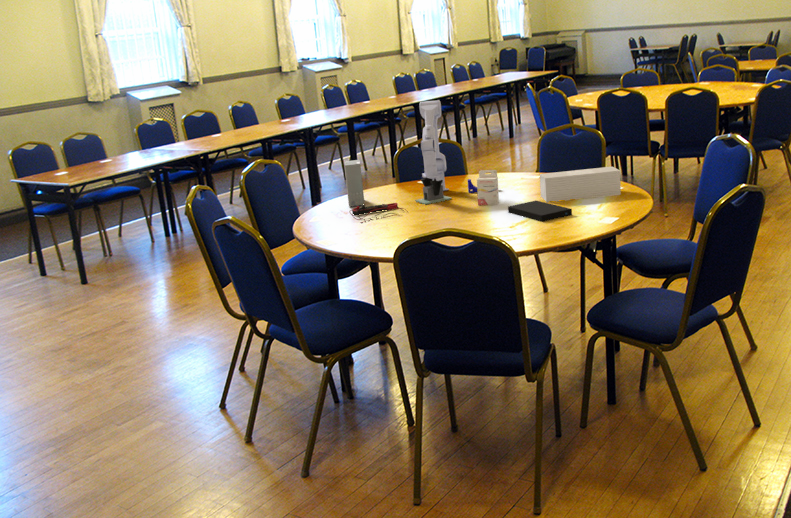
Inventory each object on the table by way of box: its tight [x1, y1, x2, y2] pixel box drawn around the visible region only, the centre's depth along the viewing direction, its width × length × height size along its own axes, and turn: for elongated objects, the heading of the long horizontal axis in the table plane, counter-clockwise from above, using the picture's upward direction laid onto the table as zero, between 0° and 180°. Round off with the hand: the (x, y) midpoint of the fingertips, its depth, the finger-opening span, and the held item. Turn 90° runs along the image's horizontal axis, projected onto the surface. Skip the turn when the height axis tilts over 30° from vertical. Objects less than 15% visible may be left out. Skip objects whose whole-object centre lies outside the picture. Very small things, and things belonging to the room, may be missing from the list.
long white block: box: [539, 166, 622, 203], centre depth 312 cm, size 32×11×11 cm, turn 91°
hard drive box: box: [343, 159, 366, 207], centre depth 344 cm, size 16×8×20 cm, turn 4°
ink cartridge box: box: [476, 169, 500, 206], centre depth 314 cm, size 9×5×15 cm, turn 71°
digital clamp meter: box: [348, 202, 409, 224], centre depth 318 cm, size 23×4×25 cm
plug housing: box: [422, 185, 445, 201], centre depth 334 cm, size 5×8×6 cm, turn 115°
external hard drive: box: [507, 200, 573, 223], centre depth 289 cm, size 14×23×3 cm, turn 25°
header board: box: [414, 195, 452, 206], centre depth 334 cm, size 10×14×3 cm
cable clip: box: [467, 178, 477, 194], centre depth 344 cm, size 12×4×6 cm, turn 87°
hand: (432, 194), depth 334 cm, fingers open, 7 cm apart
